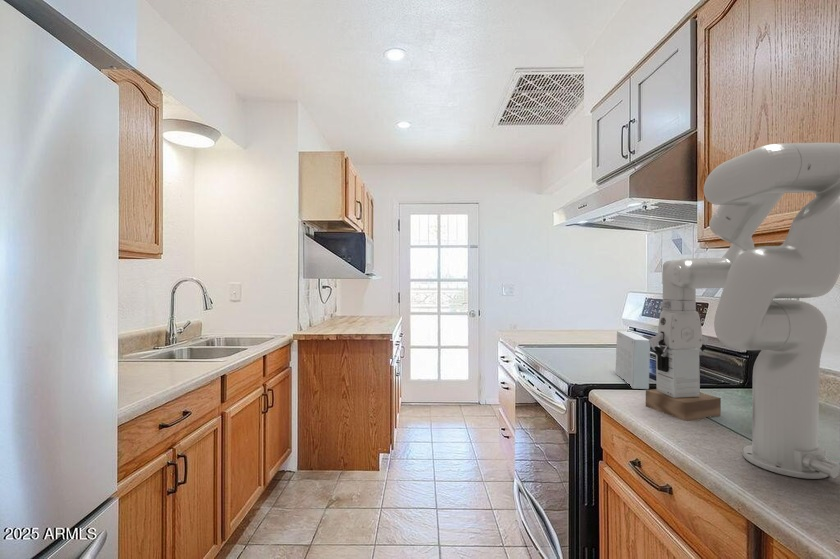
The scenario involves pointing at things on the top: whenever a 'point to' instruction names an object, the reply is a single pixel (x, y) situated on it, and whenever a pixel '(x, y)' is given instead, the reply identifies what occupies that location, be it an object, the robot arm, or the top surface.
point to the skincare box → (633, 359)
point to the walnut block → (684, 405)
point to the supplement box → (680, 374)
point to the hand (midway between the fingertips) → (678, 369)
